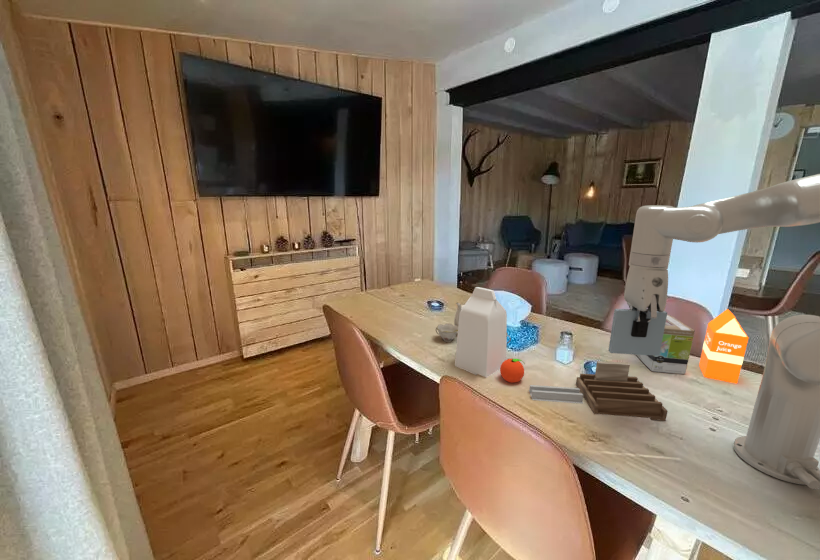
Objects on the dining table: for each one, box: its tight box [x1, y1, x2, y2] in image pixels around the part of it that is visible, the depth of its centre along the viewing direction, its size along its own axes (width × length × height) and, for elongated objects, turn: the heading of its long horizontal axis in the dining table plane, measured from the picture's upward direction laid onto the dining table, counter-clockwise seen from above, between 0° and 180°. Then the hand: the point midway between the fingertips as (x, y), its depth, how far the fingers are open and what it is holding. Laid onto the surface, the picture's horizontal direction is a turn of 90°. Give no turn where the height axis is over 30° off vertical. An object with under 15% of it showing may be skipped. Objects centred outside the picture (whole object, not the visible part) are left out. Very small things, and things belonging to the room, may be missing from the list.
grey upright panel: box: [608, 308, 668, 356], centre depth 84 cm, size 1×11×11 cm, turn 82°
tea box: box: [636, 314, 695, 375], centre depth 113 cm, size 15×10×15 cm
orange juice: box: [698, 308, 750, 384], centre depth 104 cm, size 8×9×20 cm
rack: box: [575, 360, 668, 422], centre depth 92 cm, size 14×17×9 cm
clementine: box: [499, 358, 526, 384], centre depth 103 cm, size 8×7×7 cm
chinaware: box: [435, 301, 512, 344], centre depth 131 cm, size 28×17×17 cm, turn 78°
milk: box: [454, 286, 508, 378], centre depth 109 cm, size 12×12×26 cm
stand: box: [528, 384, 584, 405], centre depth 94 cm, size 5×13×3 cm, turn 82°
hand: (636, 334), depth 84 cm, fingers closed on grey upright panel, 1 cm apart
